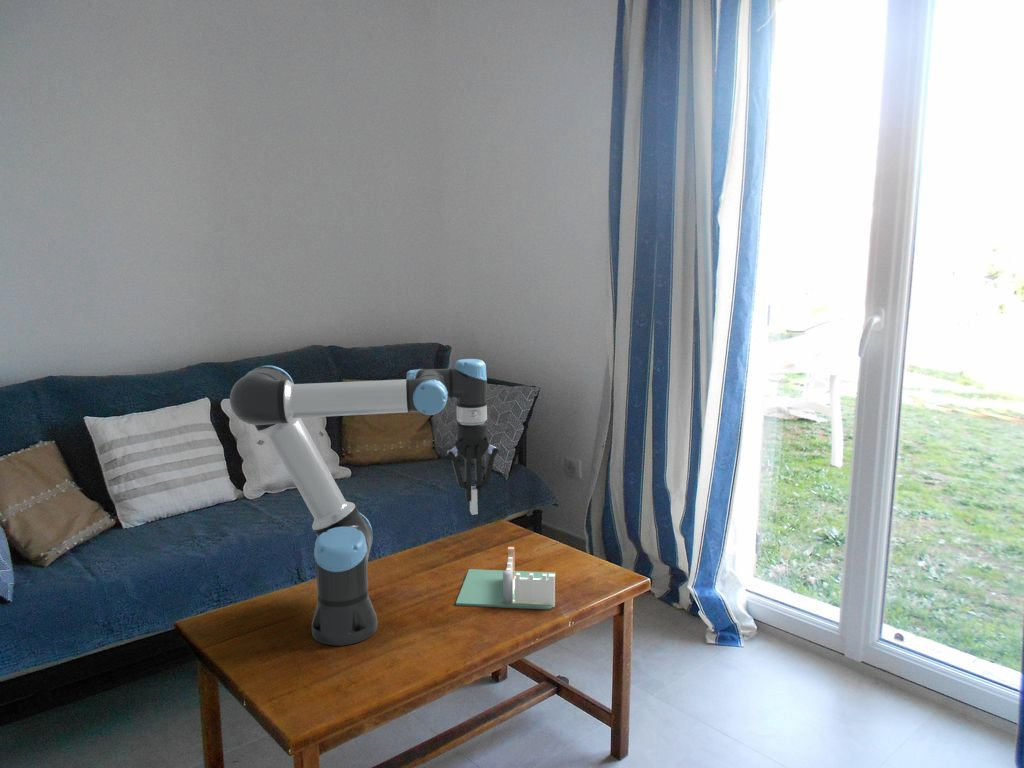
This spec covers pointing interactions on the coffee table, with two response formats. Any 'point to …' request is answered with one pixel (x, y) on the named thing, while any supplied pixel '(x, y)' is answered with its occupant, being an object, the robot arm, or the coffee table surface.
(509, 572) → the fixed fence
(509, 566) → the white crenellated wall
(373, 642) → the coffee table surface
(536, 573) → the board
